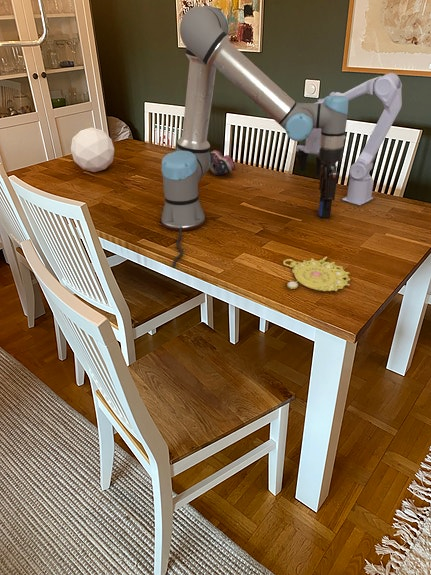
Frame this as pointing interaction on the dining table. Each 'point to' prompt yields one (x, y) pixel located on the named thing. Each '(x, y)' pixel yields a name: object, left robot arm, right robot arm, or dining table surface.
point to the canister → (320, 208)
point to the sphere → (92, 149)
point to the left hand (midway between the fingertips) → (324, 214)
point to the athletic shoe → (220, 163)
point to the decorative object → (318, 275)
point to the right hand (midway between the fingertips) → (310, 172)
